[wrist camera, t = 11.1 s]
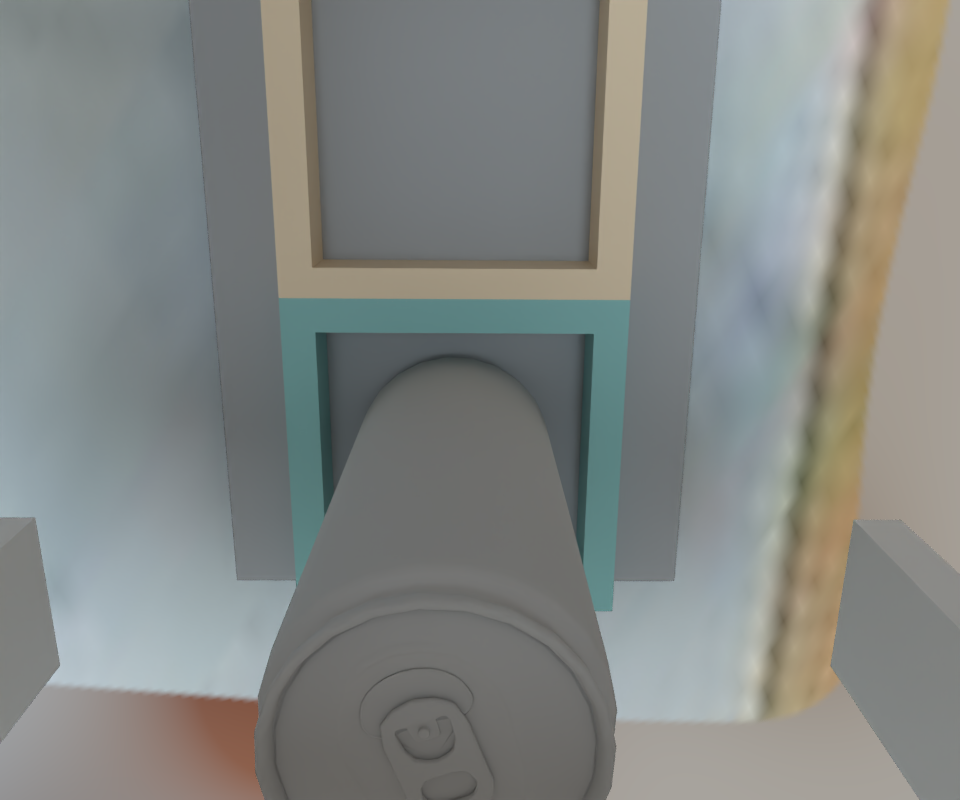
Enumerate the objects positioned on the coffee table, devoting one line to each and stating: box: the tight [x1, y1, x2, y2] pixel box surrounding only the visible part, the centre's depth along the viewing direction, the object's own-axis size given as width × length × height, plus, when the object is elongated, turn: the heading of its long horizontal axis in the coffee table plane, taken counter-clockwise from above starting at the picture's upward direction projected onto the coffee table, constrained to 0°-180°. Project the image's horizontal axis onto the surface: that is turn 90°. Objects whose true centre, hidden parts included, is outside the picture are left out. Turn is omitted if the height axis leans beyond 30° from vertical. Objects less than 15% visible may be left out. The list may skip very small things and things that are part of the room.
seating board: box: [189, 0, 721, 611], centre depth 21 cm, size 16×12×2 cm
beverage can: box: [254, 357, 617, 800], centre depth 16 cm, size 5×5×12 cm
